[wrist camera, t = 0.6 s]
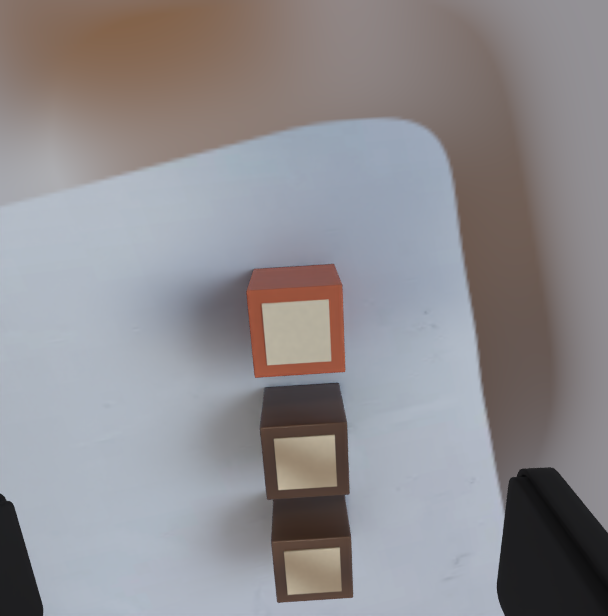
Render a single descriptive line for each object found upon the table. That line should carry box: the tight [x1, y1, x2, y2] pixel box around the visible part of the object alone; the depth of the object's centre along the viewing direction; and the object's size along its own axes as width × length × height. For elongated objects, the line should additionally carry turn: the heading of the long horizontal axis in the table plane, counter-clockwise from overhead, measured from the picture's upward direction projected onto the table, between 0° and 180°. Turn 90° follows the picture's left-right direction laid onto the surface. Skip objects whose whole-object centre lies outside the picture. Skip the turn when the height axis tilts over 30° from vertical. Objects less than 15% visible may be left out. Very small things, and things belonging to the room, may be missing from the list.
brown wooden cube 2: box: [260, 383, 350, 500], centre depth 24 cm, size 4×4×4 cm
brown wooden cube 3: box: [271, 495, 353, 603], centre depth 26 cm, size 4×4×4 cm
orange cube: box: [246, 264, 345, 378], centre depth 22 cm, size 4×4×4 cm
